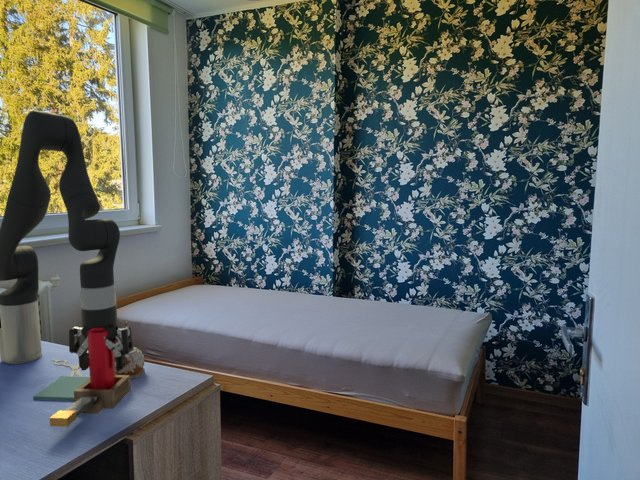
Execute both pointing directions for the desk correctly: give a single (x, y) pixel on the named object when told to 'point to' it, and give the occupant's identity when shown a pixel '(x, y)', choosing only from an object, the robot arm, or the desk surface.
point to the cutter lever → (72, 411)
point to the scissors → (74, 368)
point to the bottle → (100, 360)
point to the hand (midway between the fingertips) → (102, 369)
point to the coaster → (61, 389)
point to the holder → (104, 394)
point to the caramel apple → (132, 363)
